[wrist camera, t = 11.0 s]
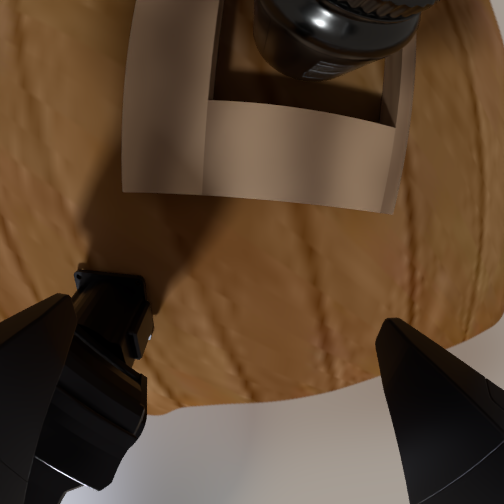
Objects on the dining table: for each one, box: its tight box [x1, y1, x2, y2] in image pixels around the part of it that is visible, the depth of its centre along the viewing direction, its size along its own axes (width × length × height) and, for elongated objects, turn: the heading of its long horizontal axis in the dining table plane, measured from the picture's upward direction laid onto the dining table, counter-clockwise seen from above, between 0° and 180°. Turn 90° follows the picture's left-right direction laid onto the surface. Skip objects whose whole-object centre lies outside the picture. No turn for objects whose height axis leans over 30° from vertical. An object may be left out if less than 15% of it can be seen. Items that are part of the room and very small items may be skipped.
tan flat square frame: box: [122, 0, 416, 215], centre depth 14 cm, size 17×18×2 cm
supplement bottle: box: [253, 0, 440, 82], centre depth 9 cm, size 7×7×12 cm
